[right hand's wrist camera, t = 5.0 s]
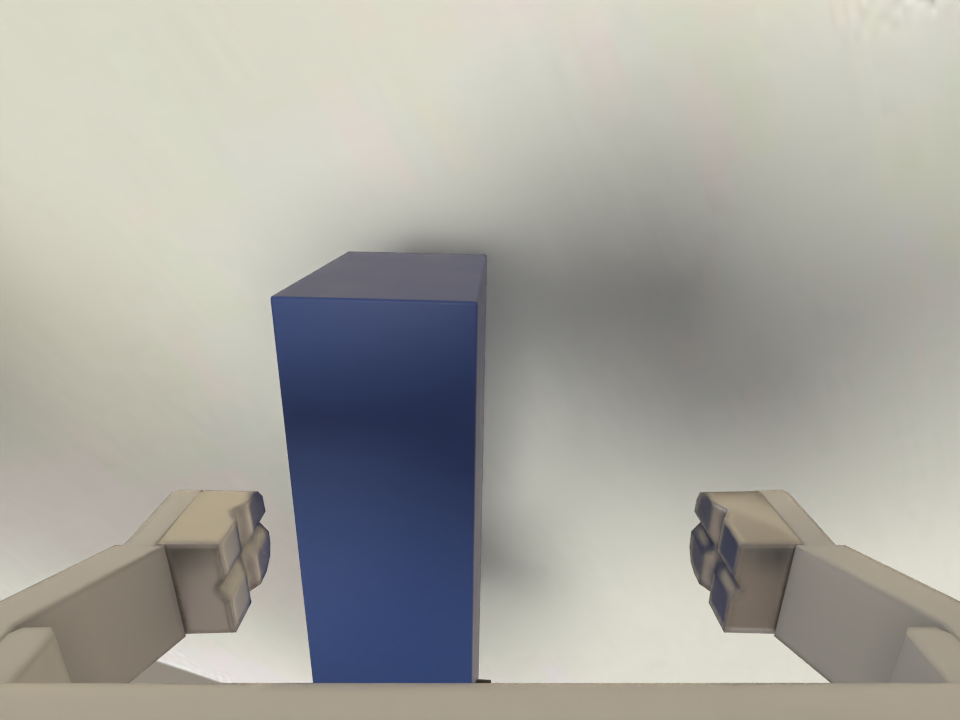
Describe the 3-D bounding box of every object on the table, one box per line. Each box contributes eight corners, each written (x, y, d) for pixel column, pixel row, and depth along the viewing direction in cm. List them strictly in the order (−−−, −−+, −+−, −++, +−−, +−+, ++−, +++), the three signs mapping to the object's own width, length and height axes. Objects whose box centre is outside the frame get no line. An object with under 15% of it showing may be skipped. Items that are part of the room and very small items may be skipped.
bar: (347, 251, 22) (269, 296, 15) (487, 254, 22) (478, 301, 15) (374, 689, 30) (332, 862, 23) (478, 694, 30) (469, 871, 22)
